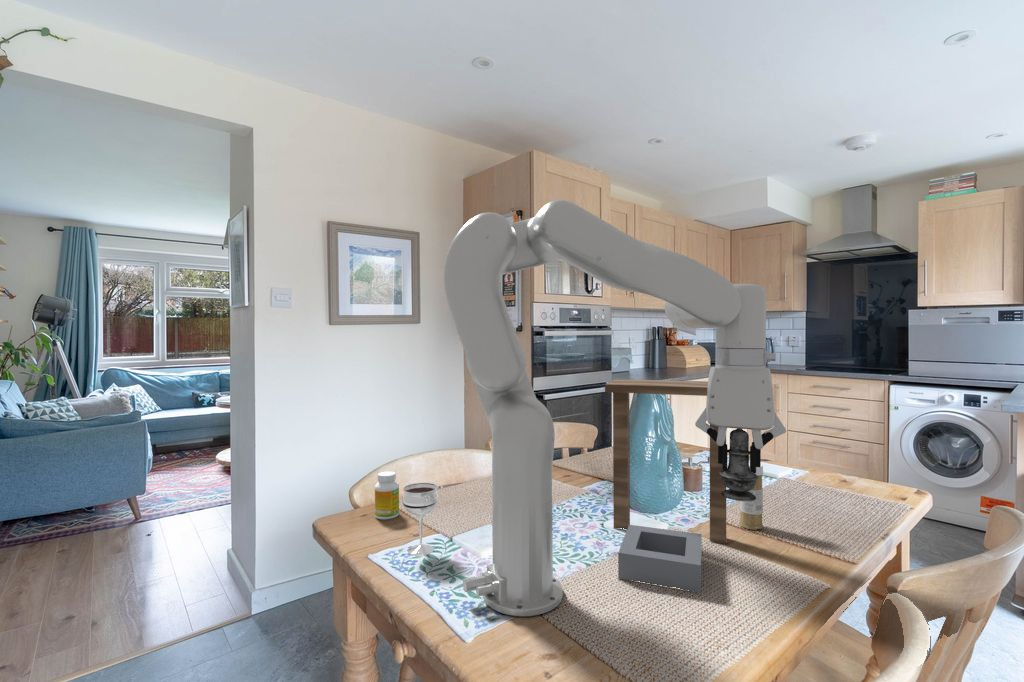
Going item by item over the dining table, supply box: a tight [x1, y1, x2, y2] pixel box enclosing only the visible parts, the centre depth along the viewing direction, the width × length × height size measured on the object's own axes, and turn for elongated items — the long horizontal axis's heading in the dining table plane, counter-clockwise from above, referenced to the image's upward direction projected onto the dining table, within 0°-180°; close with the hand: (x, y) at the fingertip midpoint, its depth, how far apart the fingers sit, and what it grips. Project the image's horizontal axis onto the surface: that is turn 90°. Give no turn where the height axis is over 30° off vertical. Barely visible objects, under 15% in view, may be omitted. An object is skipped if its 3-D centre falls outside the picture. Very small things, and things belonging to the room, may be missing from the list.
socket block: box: [617, 524, 703, 594], centre depth 86 cm, size 13×13×4 cm
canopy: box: [604, 378, 727, 545], centre depth 97 cm, size 12×22×32 cm, turn 68°
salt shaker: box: [720, 428, 759, 502], centre depth 81 cm, size 6×6×12 cm
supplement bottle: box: [374, 471, 400, 520], centre depth 112 cm, size 5×5×10 cm
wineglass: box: [402, 482, 439, 557], centre depth 94 cm, size 7×7×12 cm
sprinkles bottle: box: [739, 461, 764, 531], centre depth 104 cm, size 5×5×14 cm
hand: (738, 468), depth 81 cm, fingers closed on salt shaker, 3 cm apart
